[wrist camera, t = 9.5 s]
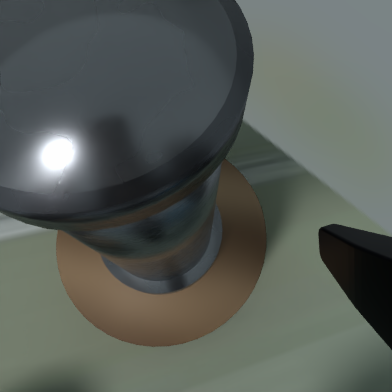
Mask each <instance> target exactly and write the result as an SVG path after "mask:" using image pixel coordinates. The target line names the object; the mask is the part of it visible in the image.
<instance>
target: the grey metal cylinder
mask: <svg viewBox="0 0 392 392" xmlns="http://www.w3.org/2000/svg"><path fill="white" fill-rule="evenodd" d="M253 60H254V52H253V44H252V37H251V33H250V30H249V27H248V23H247V21H246V19H245V17H244V15H243V13H242V11H241V9H240V7H239V5H238V4H237V3H236V1H235V0H0V212H1V213H3V214H5V215H6V216H9V217H11V218H14V219H16V220H19V221H21V222H24V223H26V224H30V225H34V226H38V227H42V228H46V229H54V230H62V231H64V232H65V233H67V234H69V235H70V236H72V237H73V238H75V239H76V240H78V241H80V242H81V243H83V244H84V245H86V246H88V247H89V248H91V249H92V250H94V251H95V252H97V253H99V254H100V255H101V258H102V260H103V262H104V264H105V265H106V267H107V268H108V270H109V271H110V272H111V273H112V275H113V276H114V277H115V278H117V279H118V280H119V281H120V282H121V283H123V284H125V285H126V286H128V287H130V288H133V289H135V290H137V291H140V292H143V293H147V294H154V295H165V294H171V293H175V292H179V291H182V290H184V289H186V288H188V287H190V286H192V285H193V284H195V283H196V282H197V281H199V280H200V279H201V278H202V277H203V276H204V275H205V274H206V273H207V272H208V271H209V269H210V268H211V266H212V265H213V263H214V261H215V259H216V257H217V254H218V251H219V248H220V244H221V240H222V220H221V215H220V212H219V209H218V207H217V204H216V198H217V191H218V185H219V178H220V171H221V165H222V161H223V160H224V159H225V157H226V156H227V154H228V152H229V150H230V149H231V147H232V145H233V143H234V142H235V139H236V137H237V134H238V132H239V129H240V127H241V123H242V119H243V115H244V110H245V105H246V101H247V96H248V92H249V87H250V83H251V78H252V74H253Z"/></svg>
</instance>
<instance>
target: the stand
mask: <svg viewBox="0 0 392 392" xmlns="http://www.w3.org/2000/svg"><path fill="white" fill-rule="evenodd" d="M216 204H217V207H218V209H219V212H220V215H221V220H222V240H221V244H220V248H219V251H218V254H217V257H216V259H215V261H214V263H213V265H212V266H211V268H210V269H209V271H208V272H207V273H206V274H205V275H204V276H203V277H202V278H201V279H200V280H199V281H197V282H196V283H195V284H193V285H192V286H190V287H188V288H186V289H184V290H182V291H179V292H175V293H171V294H165V295H154V294H147V293H143V292H140V291H137V290H135V289H133V288H130V287H128V286H126V285H125V284H123V283H121V282H120V281H119V280H118V279H117V278H115V277H114V276H113V275H112V273H111V272H110V271H109V270H108V268H107V267H106V265H105V264H104V262H103V260H102V258H101V255H100V254H99V253H97V252H95V251H94V250H92V249H91V248H89V247H88V246H86V245H84V244H83V243H81V242H80V241H78V240H76V239H75V238H73V237H72V236H70V235H69V234H67V233H65V232H64V231H62V230H58V234H57V243H56V255H57V262H58V269H59V272H60V276H61V280H62V283H63V285H64V287H65V289H66V292H67V294H68V296H69V297H70V299H71V300H72V302H73V303H74V305H75V307H76V308H77V309H78V310H79V311H80V312H81V314H82V315H83V316H84V317H85V318H86V319H87V320H88V321H90V322H91V323H92V324H93V325H94V326H95V327H97V328H98V329H100V330H102V331H103V332H105V333H106V334H108V335H110V336H112V337H115V338H117V339H119V340H122V341H125V342H129V343H132V344H136V345H143V346H152V347H155V346H171V345H177V344H183V343H186V342H189V341H192V340H195V339H198V338H200V337H202V336H204V335H206V334H208V333H210V332H212V331H214V330H215V329H217V328H218V327H220V326H221V325H223V324H224V323H225V322H227V321H228V320H229V319H230V318H231V317H232V316H233V315H234V314H235V313H236V312H237V311H238V310H239V309H240V308H241V307H242V305H243V304H244V303H245V302H246V300H247V299H248V297H249V296H250V294H251V292H252V291H253V289H254V287H255V285H256V283H257V281H258V279H259V276H260V274H261V270H262V267H263V263H264V259H265V252H266V226H265V220H264V216H263V212H262V208H261V205H260V203H259V200H258V198H257V196H256V194H255V192H254V190H253V189H252V187H251V185H250V184H249V183H248V181H247V180H246V179H245V177H244V176H243V175H242V174H241V173H240V172H239V171H238V170H237V169H236V168H235V167H234V166H233V165H232V164H231V163H229V162H228V161H227V160H226V159H224V160H223V161H222V165H221V171H220V178H219V185H218V191H217V198H216Z"/></svg>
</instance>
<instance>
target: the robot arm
mask: <svg viewBox="0 0 392 392" xmlns="http://www.w3.org/2000/svg"><path fill="white" fill-rule="evenodd" d="M319 249H320V256H321V259H322V261H323V262H324V264H325V265H326V267H327V268H328V269H329V271H330V272H331V274H332V275H333V277H334V278H335V279H336V281H337V282H338V284H339V285H340V287H341V288H342V290H343V291H344V292H345V294H346V295H347V297H348V298H349V300H350V301H351V302H352V304H353V305H354V306H355V308H356V309H357V310H358V311H359V312H360V314H361V315H362V316H363V317H364V318H365V319H366V321H367V322H368V323H369V324H370V325H371V326H372V328H373V329H374V330H375V331H376V332H377V333H378V335H379V336H380V337H381V338H382V339H383V340H384V341H385V343H386V344H387V345H388V346H389V347H390V348H391V350H392V237H389V236H385V235H381V234H376V233H372V232H368V231H364V230H359V229H355V228H351V227H346V226H342V225H338V224H330V225H327V226H324V227H321V228H320V229H319Z"/></svg>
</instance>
